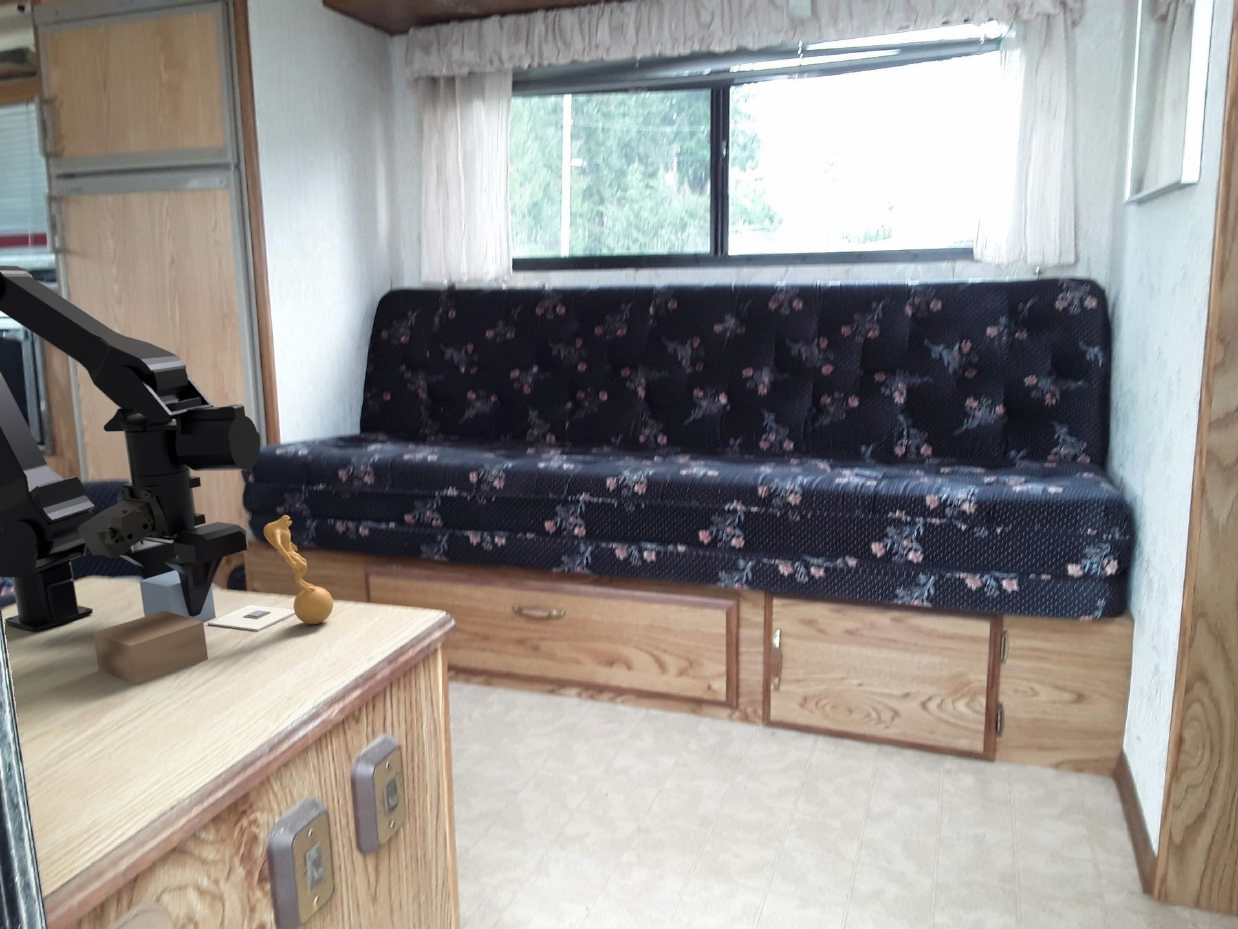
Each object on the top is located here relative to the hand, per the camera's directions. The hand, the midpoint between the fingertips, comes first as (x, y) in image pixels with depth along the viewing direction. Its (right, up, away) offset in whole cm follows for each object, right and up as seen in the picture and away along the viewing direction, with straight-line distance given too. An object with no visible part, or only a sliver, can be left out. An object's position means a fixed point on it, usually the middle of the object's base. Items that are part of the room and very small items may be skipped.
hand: (179, 612), depth 102 cm
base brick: (+3, -3, -12) cm, 13 cm away
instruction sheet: (+8, -1, 0) cm, 8 cm away
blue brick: (0, -1, 0) cm, 1 cm away
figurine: (+15, -1, -3) cm, 15 cm away
